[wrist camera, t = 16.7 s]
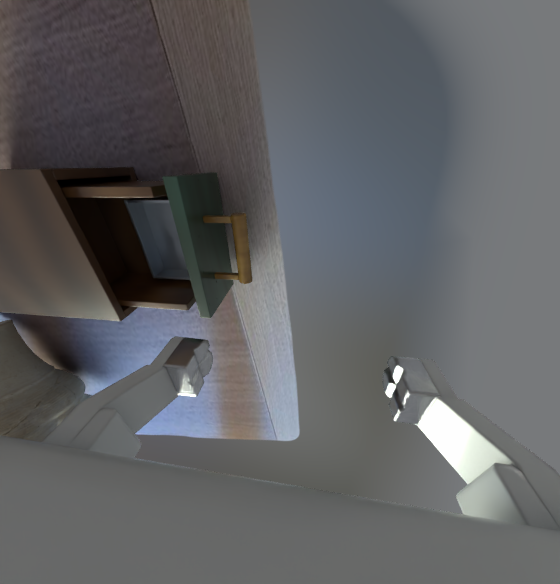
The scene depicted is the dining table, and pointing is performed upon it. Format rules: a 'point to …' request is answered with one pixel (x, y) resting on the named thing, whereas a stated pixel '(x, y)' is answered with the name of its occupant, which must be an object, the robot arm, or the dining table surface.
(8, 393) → the vase
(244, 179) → the dining table surface
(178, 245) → the tray
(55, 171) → the cabinet
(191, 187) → the drawer
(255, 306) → the dining table surface
